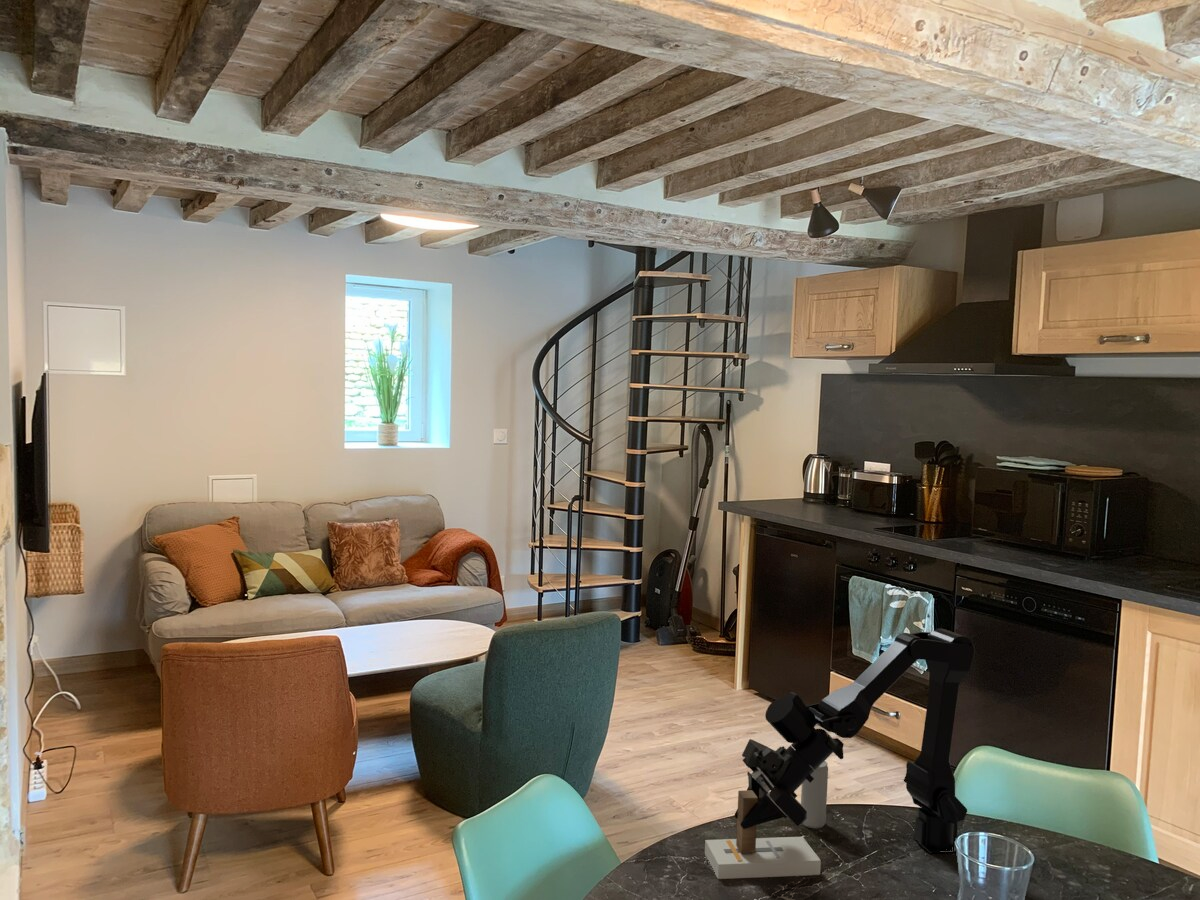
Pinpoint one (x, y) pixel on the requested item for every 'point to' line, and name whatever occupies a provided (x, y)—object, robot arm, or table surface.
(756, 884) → the table surface
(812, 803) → the beverage can
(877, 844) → the table surface
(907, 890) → the table surface
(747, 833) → the lever
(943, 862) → the table surface
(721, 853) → the fader console
